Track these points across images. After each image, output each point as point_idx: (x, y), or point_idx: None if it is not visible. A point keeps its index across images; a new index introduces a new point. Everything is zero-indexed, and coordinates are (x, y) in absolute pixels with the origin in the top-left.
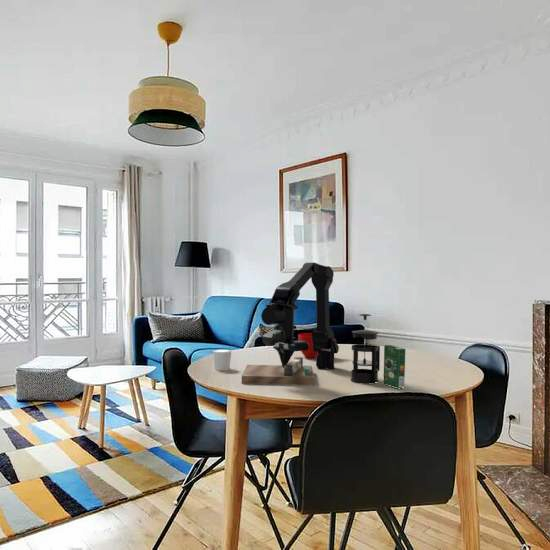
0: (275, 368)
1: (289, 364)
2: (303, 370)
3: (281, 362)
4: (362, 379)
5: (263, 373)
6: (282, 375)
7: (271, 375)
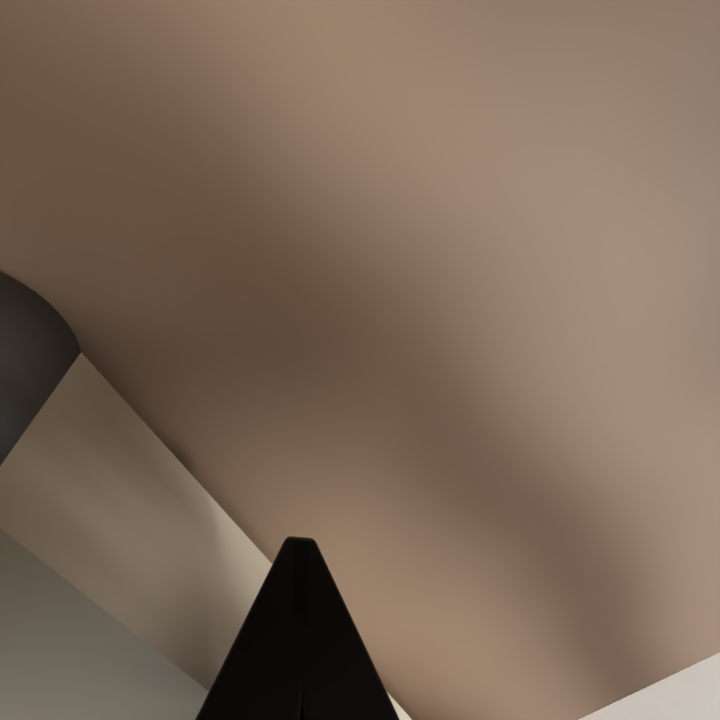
0: (600, 556)
1: (22, 636)
2: None
3: (345, 628)
4: None
5: (555, 62)
6: (36, 241)
7: (211, 9)
